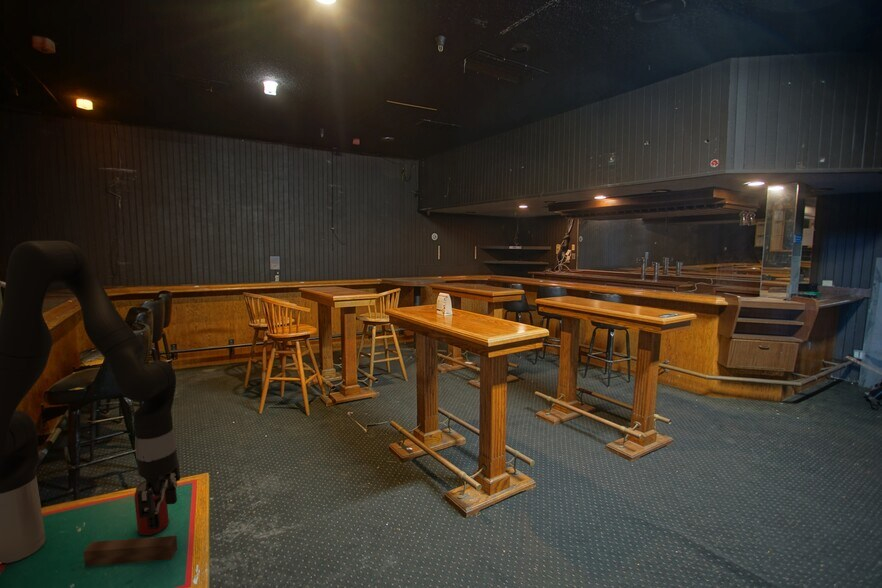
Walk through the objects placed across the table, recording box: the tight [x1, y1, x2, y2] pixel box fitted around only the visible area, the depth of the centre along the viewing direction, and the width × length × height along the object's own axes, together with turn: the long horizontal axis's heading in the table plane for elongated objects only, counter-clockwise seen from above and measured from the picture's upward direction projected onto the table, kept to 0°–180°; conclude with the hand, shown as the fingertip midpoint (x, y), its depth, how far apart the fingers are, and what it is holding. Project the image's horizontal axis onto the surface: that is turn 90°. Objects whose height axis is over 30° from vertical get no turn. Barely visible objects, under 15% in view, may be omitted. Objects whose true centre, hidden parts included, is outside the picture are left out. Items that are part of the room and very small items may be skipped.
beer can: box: [133, 479, 170, 536], centre depth 108 cm, size 7×7×12 cm
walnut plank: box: [83, 535, 178, 567], centre depth 99 cm, size 18×3×4 cm, turn 98°
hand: (163, 515), depth 99 cm, fingers open, 8 cm apart
